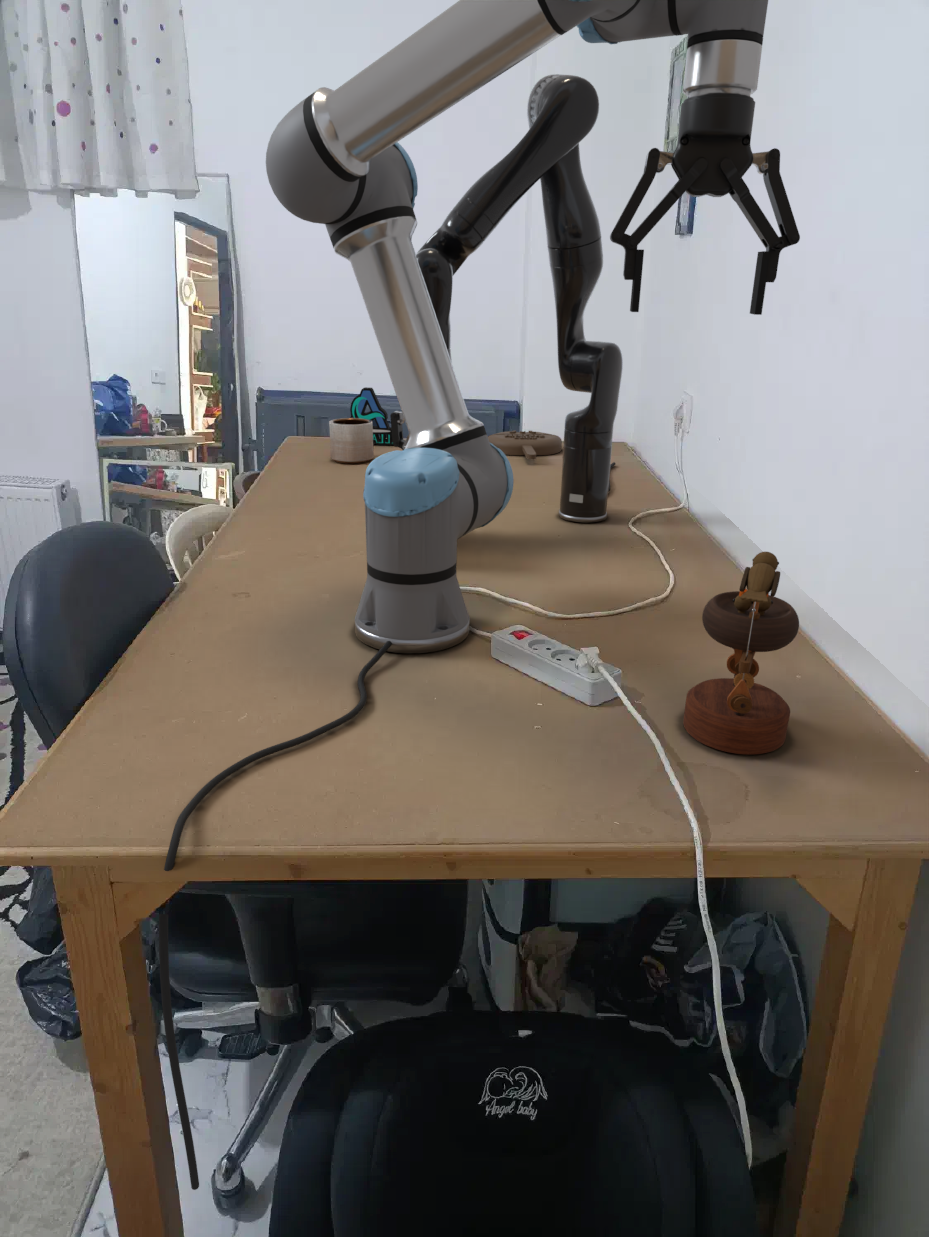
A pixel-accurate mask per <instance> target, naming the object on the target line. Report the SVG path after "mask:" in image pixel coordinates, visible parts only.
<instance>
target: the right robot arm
mask: <svg viewBox="0 0 929 1237" xmlns="http://www.w3.org/2000/svg"><path fill="white" fill-rule="evenodd" d="M526 107H527V108H526V117H527V124H528V128H529V129H528V130H527V132H526V134H525V135H524V136H523V137H522V138H521V139H520V140H519V142H518V143H516V145H515V146H514V147H513V148H512V149H511V150H509V152H508V153H507V154H506V155H505V156H504V157H503V158H501V159H500V160H499V161H498V162H497V163H495V164H494V165H493V166H492V167H491V168H490V169H488V170H487V171H486V172H485V173H483V174H482V175H481V176H480V177H479V178H478V179H477V180H476V181H475V182H474V183H473V184H472V185H471V186H470V187H468V190H466V192H465V193H464V194H463V195H462V196H461V198H460V199H459V200H458V202H457V203H456V204H455V205H454V206H453V207H452V208H451V210H450V212H449V213H448V214H447V216H446V217H445V219H444V220H443V222H442V223H441V225H440V226H439V228H437V229H436V231H435V232H434V233H433V234H432V235H431V236H430V237H429V238H428V239H427V240H426V242H425V243H424V244H422V245H421V247H420V248H419V249H418V250H417V252H415V254H416V257H417V260H418V263H419V266H420V269H421V272H422V275H423V278H424V281H425V284H426V287H427V290H428V293H429V296H430V299H431V302H432V305H433V308H434V311H435V314H436V317H437V320H438V323H439V326H440V329H441V332H442V335H443V338H444V341H445V345H446V348H447V351H448V354H449V357H450V360H451V363H452V364H453V361H452V351H451V350H452V349H451V346H452V345H451V343H452V342H451V341H452V338H451V337H452V328H451V308H452V307H451V306H452V298H453V282H454V281H453V280H454V278H453V277H454V275H456V273H457V272H458V271H459V269H460V268H461V267H462V265H463V264H464V263H465V261H466V260H467V259H468V258H469V257H470V256H471V255H473V254H474V253H475V252H476V251H477V250H478V249H479V248H480V247H481V246H482V245H483V244H484V242H485V241H486V240H487V239H488V238H489V237H490V236H491V234H492V233H493V232H494V231H495V229H496V228H497V227H498V226H499V225H500V223H501V222H502V221H503V220H504V219H505V217H506V216H507V215H508V214H509V212H510V211H512V209H513V208H514V207H515V206H516V204H518V202H519V201H520V200H521V199H522V198H523V197H524V196H525V195H526V194H527V193H528V191H529V190H530V189H531V188H532V187H533V186H534V185H535V184H536V183H537V182H538V181H539V180H540V188H541V200H542V209H543V216H544V217H543V218H544V219H543V220H544V228H545V236H546V245H547V246H546V247H547V248H546V249H547V254H548V263H549V269H550V270H549V271H550V275H551V276H550V277H551V282H552V289H553V290H552V291H553V298H554V307H555V319H556V341H557V342H556V345H557V348H556V349H557V366H558V373H559V378H560V382H561V383H562V386H563V387H564V388H565V389H567V390H569V391H572V392H579V393H588V394H590V398H589V402H588V404H587V405H585V406H584V407H583V408H580V409H576V410H572V411H569V412H568V413H566V415H565V418H564V430H563V447H562V448H563V449H562V465H561V468H562V469H561V481H560V482H561V483H560V496H559V497H560V498H559V509H558V517H559V518H561V519H563V520H565V521H569V522H573V523H584V524H590V523H592V524H593V523H599V522H603V521H605V520H606V519H607V517H608V500H609V492H610V490H611V481H610V476H611V475H610V474H611V469H612V468H613V467H615V466H616V465H617V464H616V462H615V461H613V462H611V461H612V450H613V438H614V437H613V436H614V428H615V427H614V426H615V421H616V417H617V413H618V408H619V399H620V392H621V391H620V390H621V384H622V377H623V370H624V369H623V368H624V367H623V366H624V365H623V364H624V361H623V360H624V358H623V353H622V350H621V348H620V346H619V345H618V344H617V343H615V342H611V341H599V340H598V341H597V340H587V339H586V337H585V336H586V335H585V325H584V324H585V323H584V322H585V313H586V309H587V306H588V303H589V301H590V299H591V298H592V295H593V293H594V291H595V289H596V287H597V286H598V282H599V280H600V278H601V275H602V273H603V269H604V249H603V239H602V230H601V223H600V220H599V216H598V212H597V210H596V207H595V204H594V201H593V198H592V195H591V193H590V190H589V188H588V185H587V183H586V180H585V176H584V173H583V168H582V161H581V152H580V151H581V150H580V143H581V142H582V141H583V140H584V139H585V138H586V137H587V136H588V135H589V134H590V133H591V132H592V130H593V128H594V127H595V125H596V123H597V120H598V118H599V113H600V99H599V95H598V92H597V90H596V88H595V86H594V85H593V84H592V83H591V82H590V81H589V80H587V79H586V78H584V77H581V76H578V75H573V74H558V73H557V74H555V73H554V74H547V75H545V76H543V77H541V78H540V79H539V80H538V81H536V83H535V84H534V85H533V87H532V88H531V91H530V93H529V96H528V99H527V106H526ZM404 423H406V422H405V419H404V416H403V413H402V411H400V410H395V411H393V412H391V413H390V427H391V429H392V441H393V445H392V446H393V447H395V448H399V449H401V451H403V450H404V449H405V447H406V445H407V443H408V441H409V438H410V433H409V432H408V435H407V436H406V439H404V430H403V424H404Z"/></svg>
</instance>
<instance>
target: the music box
mask: <svg viewBox="0 0 929 1237" xmlns="http://www.w3.org/2000/svg"><path fill="white" fill-rule="evenodd" d="M778 560H779V559H777V556H776V555H775V554H774V553H773V552H770V551H761V552H758V553H757V554H756V555H755V556H754V557H753V558H752V566H751V567H750V566H745V568H744V572H743V574H742V578H741V581H740V585H739V588H738V589H739V590H738V591H737V590H735V591H734V590H733V591H726V592H722V593H718V594H716V595H714V596H712V598H710V599H709V600H708V602H707V603H706V604H705V606H704V608H703V610H702V614H701V615H702V617H701V619H702V620H701V621H702V625H703V628H704V630H705V632H706V633H707V634H708V635H709V637H711V639H712V640H714V641H716V642H717V643H719V644H721V645H722V646H725V647H728V648H731V649H733V652H734V653H732V654H730V655H729V656H728V657H727V659H726V668H727V670H728V671H729V672H730V673H732V674H733V678H729V677H728V678H727V677H724V678H723V677H721V678H719V677H718V678H710V679H706V680H703V681H701V682H699V683H697V684H696V685H694V686H692V687H691V688H690V689H689V690H687V693H686V698H685V705H684V713H683V720H682V722H683V723H682V724H683V727H684V729H685V731H686V732H687V733H688V734H689V735H690V737H692V738H693V739H695V740H696V741H697V742H699V743H701V744H703V745H705V746H707V747H709V748H712V749H715V750H719V751H721V752H725V753H726V752H727V753H730V754H738V755H761V754H762V755H763V754H767V753H771V752H773V751H777V750H778V749H780V748H781V747H782V746H783V745H784V743H785V742H786V738H787V732H788V727H789V722H790V717H791V716H790V715H791V708H790V706H789V704H788V703H787V701H785V699H784V698H783V697H782V696H781V695H780V694H779V693H777V692H776V691H774V690H773V689H771V688H769V687H767V686H765V685H763V684H760V683H758V682H755V679H754V678H756V677H757V675H758V674H759V672H760V666H759V663H758V661H757V660H756V659H755V658H754V657H755V655H756V653H768V652H774V651H778V650H782V649H783V648H785V647H786V646H788V645H790V644H791V642H793V641H794V639H795V638H796V637H797V634H798V633H799V629H800V619H799V616H798V613H797V611H796V610H795V608H794V607H793V606H792V605H791V604H790V603H789V602H787V601H786V600H784V599H781V598H779V597H776V594H777V591H778V588H779V583H780V579H781V571H778V570H777V569H778V566H779V565H780V561H778Z"/></svg>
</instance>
